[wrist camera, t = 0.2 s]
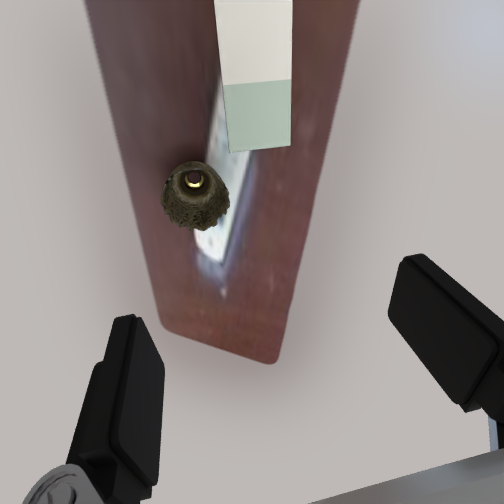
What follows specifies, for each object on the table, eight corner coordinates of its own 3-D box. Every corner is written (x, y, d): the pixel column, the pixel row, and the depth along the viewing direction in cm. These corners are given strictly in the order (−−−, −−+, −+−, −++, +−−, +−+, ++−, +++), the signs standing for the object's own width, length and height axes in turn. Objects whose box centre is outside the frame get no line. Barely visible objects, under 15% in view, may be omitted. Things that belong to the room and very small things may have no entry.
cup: (196, 213, 41) (198, 243, 35) (152, 178, 37) (146, 204, 31) (233, 176, 39) (243, 201, 33) (192, 135, 35) (193, 154, 29)
